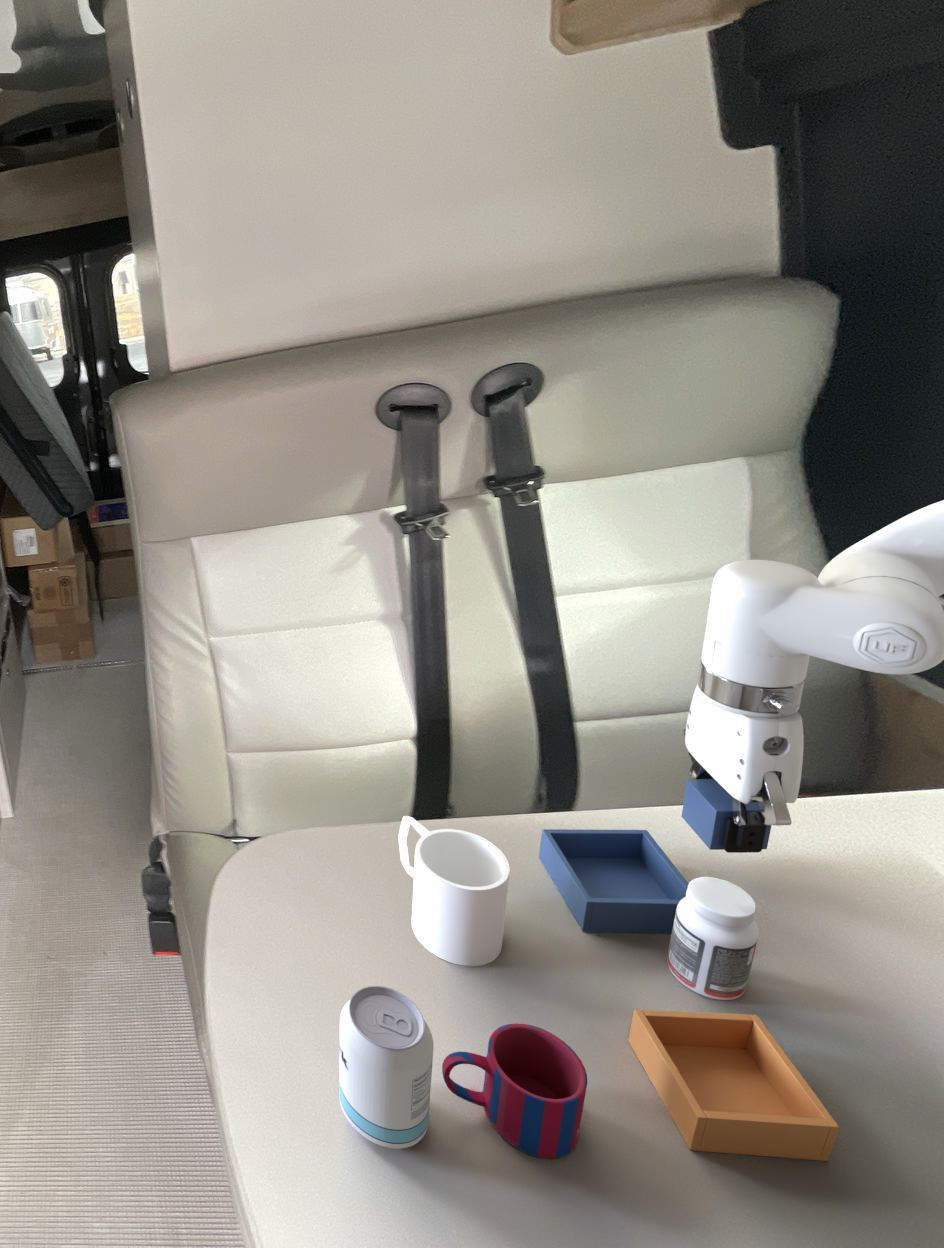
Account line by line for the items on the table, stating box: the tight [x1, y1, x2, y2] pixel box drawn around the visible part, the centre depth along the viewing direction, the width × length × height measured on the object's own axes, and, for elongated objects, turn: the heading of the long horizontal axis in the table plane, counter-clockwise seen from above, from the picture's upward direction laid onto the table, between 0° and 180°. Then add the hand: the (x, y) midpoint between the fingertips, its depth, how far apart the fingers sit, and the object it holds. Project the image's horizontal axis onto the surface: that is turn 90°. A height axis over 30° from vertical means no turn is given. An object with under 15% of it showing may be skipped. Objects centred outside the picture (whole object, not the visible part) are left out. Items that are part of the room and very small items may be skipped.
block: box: [681, 778, 772, 851], centre depth 86 cm, size 5×5×5 cm
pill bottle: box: [666, 876, 759, 1001], centre depth 76 cm, size 6×6×10 cm
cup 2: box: [441, 1022, 588, 1160], centre depth 69 cm, size 7×10×7 cm
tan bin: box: [627, 1008, 840, 1162], centre depth 68 cm, size 9×9×4 cm
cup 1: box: [397, 815, 511, 967], centre depth 86 cm, size 8×12×10 cm
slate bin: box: [538, 828, 689, 935], centre depth 87 cm, size 10×10×4 cm
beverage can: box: [338, 985, 434, 1150], centre depth 69 cm, size 7×7×12 cm
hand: (723, 829), depth 87 cm, fingers closed on block, 5 cm apart
